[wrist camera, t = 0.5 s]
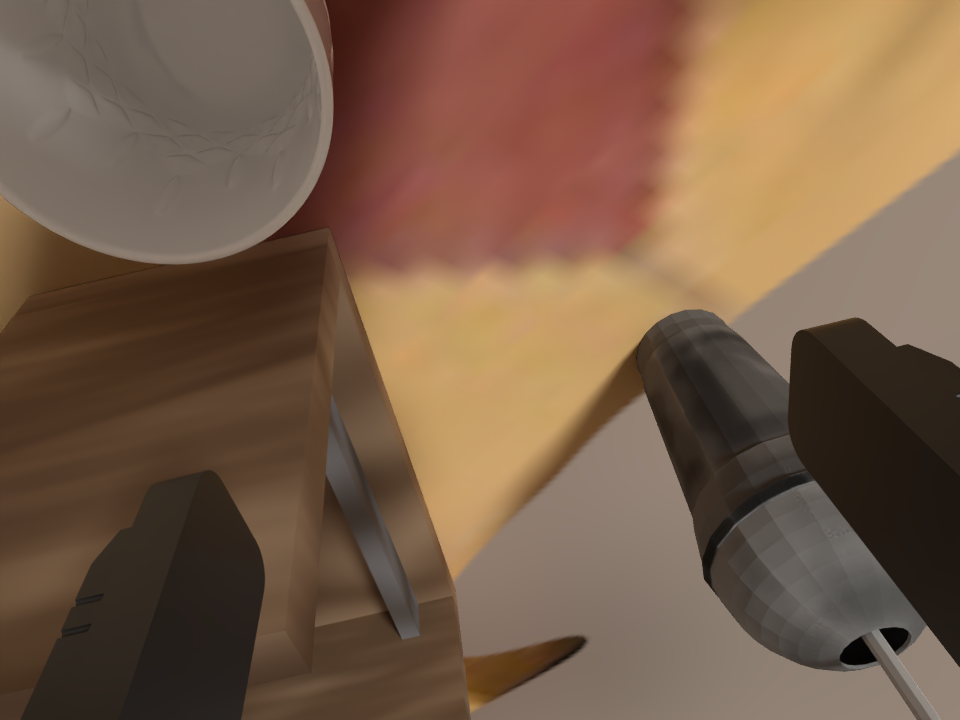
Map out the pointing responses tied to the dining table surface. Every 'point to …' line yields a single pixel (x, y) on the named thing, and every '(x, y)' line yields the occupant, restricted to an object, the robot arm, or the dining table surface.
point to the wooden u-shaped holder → (229, 474)
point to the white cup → (164, 120)
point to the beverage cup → (769, 509)
